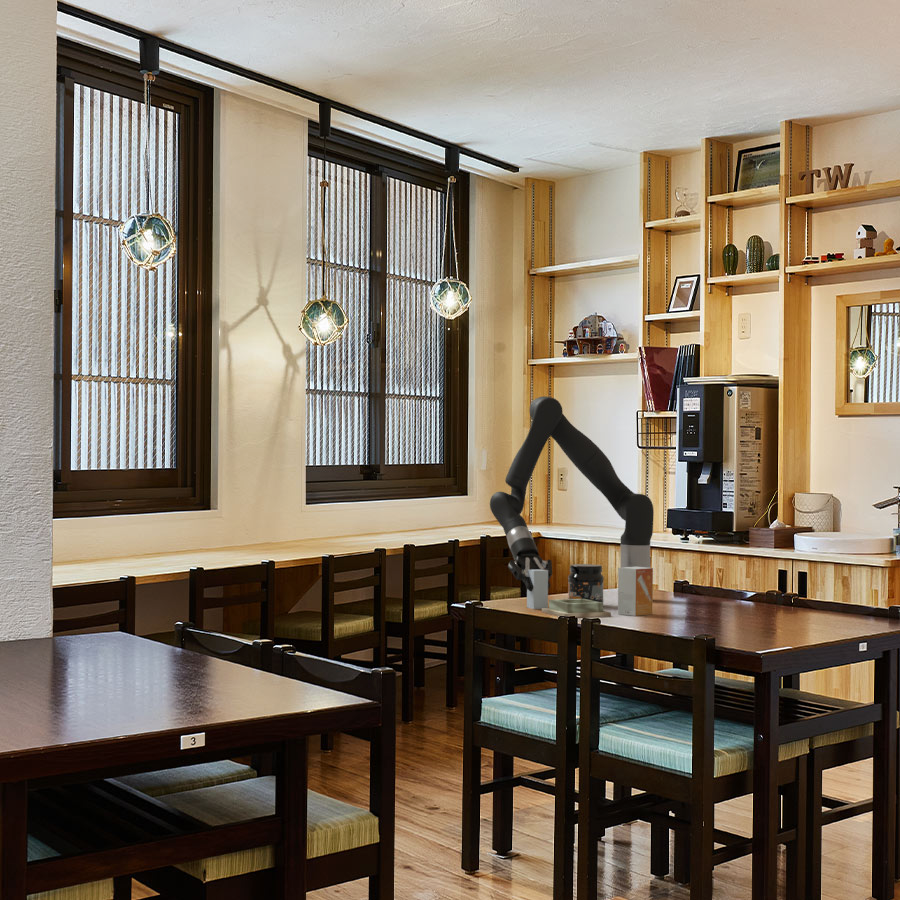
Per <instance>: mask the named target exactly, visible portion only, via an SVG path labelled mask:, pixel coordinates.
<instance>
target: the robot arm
mask: <svg viewBox="0 0 900 900" xmlns="http://www.w3.org/2000/svg"><path fill="white" fill-rule="evenodd" d="M563 411H564V410H563V406H562V404H561V402H559V400H557V399H556V398H554V397H552V396H551V397H550V396H539V397H536V398H534V399H533V400H532V402H531V403H530V406H529V414H530V415H529V416H530V418H531V425H530V428H529V431H528V434H527V435H526V437H525V440H524V441H523V443H522V445H521V447H520V448H519V450H518V451H517V452H516V455H515V457H514V458H513V461H512V462H511V465H510V467H509V469H508V471H507V474H506V477H505V479H504V480H505V483H506V485H508V487H510V488H511V491H510V493H507V492H504V491H496V492H495V493H493V495H492V496H491V498H490V499H489V500H490V502H489V509H490V511H491V513H492V515H493V516H494V518H495V520H497V522H498V524H499V525H500V526H501V527H502V528H503V529H502V530H503V532H504V534H505V536H506V540H507V544H508V547H509V550H510V552H511V555H512V557H513V559H510V560H509V563H508V565H507V568H508V569H509V571H510V572H511V574H512V576H514V578H515V579H516V580H517V581H522V582H523V583H524V585H525V587H526V590H527V589H528V590H529V591H532V590H533V587H534V586H533V584H532V581H531V578H530V577H529V573H528V570H531V569H542V570H548V590H550V588H551V583H550V579H551V577H552V576H553V561H552V560H551V559H548V560H543V559H542V557H541V556H540V553H539V550H538V548H537V545H536V542H535V540H534V538H533V535H532V533H531V532H530V530H529V527H528V525H527V523H526V521H525V519H524V517H523V516H522V515H521V514H522V512H523V510H524V507H525V503H526V502H525V500H526V494H527V487H528V484H529V482H530V479H531V477H532V475H533V473H534V470H535V468H536V466H537V463H538V461H539V458H540V456H541V454H542V451H543V449H544V447H545V445H546V444H547V441H548V440H549V438H550V437H551V438H552V439H553V440H554V441H555V442H556V443H557V444H558V446H559V448H560V449H561V450H562V451H563V453H564V454H565V455H566V457H567V458H568V459H569V460H570V461H571V462H572V464H573V466H575V467H576V469H578V471H579V472H580V473H581V474H582V475H583V476H584V477H585V478H586V479H587V480H588V481H589V482H590V483H591V484H592V485H593V486H594V487H595V488H596V489H597V490H598V491H600V493H601V494H602V495H603V496H604V497H605V498H606V500H607V501H608V503H609V504H610V505H611V506H612V508H613V509H614V511H615V512H616V513H617V515H618V516H619V517H620V518H621V519H622V520H624V522H625V523H624V524H625V525H624V532H622V534H621V536H620V557H619V559H620V563H619V564H620V565H619V566H620V567H619V568H624V567H647V568H651V540H652V537H653V533H654V514H655V513H654V512H655V511H654V505H653V504H654V503H653V501H652V499H651V498H650V497H649V496H647V495H645V494H642V493H635V492H633V491H632V490H631V489H630V488H629V487H628V486H627V485H626V484H625V483H623V481H622V480H621V479H620V478H619V476H618V475H617V472H616V471H615V469H614V466H613V465H612V462H611V461H610V460H609V457H607V455H606V453H605V452H603V450H601V449H600V447H599V446H598V445H597V444H596V443H595V442H593V441H592V440H591V438H590V437H588V436H587V435H585V434H584V433H583V432H581V431H580V430H579V429H578V428H576V427H575V426H574V425H573V424H572V423H571V422H570V420H568V418H567V417H566V416H565V415H564V413H563Z"/></svg>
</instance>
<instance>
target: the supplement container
mask: <svg viewBox="0 0 900 900" xmlns="http://www.w3.org/2000/svg"><path fill="white" fill-rule="evenodd" d="M569 572H570V574H568V576H567V579H568V583H567V584H568V588H567V589H568V596H567V597H568V599H587V600H592V601H597V602H601V603H603V604H604V580H605V578H604V575H603V574H602V572H603V566H602V565H601V564H594V563H593V564H592V563H590V564H589V563H588V564H587V563H576V564H575V563H574V564H570V565H569Z"/></svg>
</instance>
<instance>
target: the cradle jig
mask: <svg viewBox="0 0 900 900" xmlns="http://www.w3.org/2000/svg"><path fill="white" fill-rule="evenodd" d="M541 612H542V613H544V614H548V615H553V616H556V617H560V616H575V618H595V617H598V618H599V617H611V616H612V615H611V612H610V611H605V610H604V602H603V603H601V602H597V601H592V600H587V599H567V598H564V599H548V608H542V609H541Z"/></svg>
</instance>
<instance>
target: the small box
mask: <svg viewBox="0 0 900 900" xmlns="http://www.w3.org/2000/svg"><path fill="white" fill-rule="evenodd" d="M653 576H654V568H653V567H650V568H647V567H624V568H620V567H618V573H617V577H618V579H617V614H618V615H622V616H634V617H636V616H645V615H647V616H648V615H652V614H653V598H654V596H653V595H654V594H653V591H654V589H653V585H654V583H653V582H654V580H653V579H654V577H653Z"/></svg>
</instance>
